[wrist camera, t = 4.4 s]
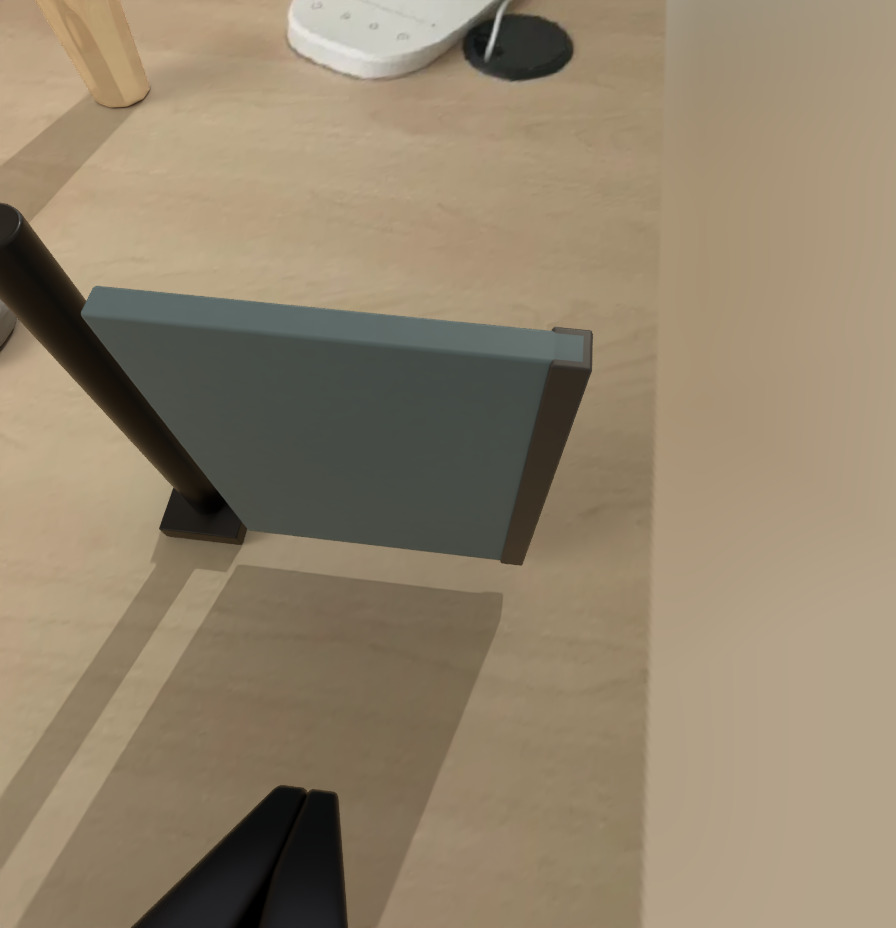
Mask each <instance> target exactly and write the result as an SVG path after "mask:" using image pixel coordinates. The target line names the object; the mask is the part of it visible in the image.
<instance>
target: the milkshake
mask: <svg viewBox="0 0 896 928" xmlns="http://www.w3.org/2000/svg"><path fill="white" fill-rule="evenodd" d="M35 2H36V4H37V5H38V7H39V8H40V10H41V12H42V13H43V15H44V16H45V18H46V20H47V21H48V23H49V25H50V26H51V28H52V30H53V31H54V33H55V35H56V36H57V38H58V40H59V41H60V43H61V45H62V46H63V48H64V50H65V51H66V53H67V55H68V56H69V58H70V60H71V61H72V63H73V65H74V66H75V68H76V70H77V71H78V73H79V75H80V76H81V78H82V80H83V81H84V83H85V85H86V86H87V88H88V90H89V91H90V93H91V95H92V96H93V98H94V100H95V101H96V102H97V103H100V104H102V105H105V106H107V107H110V108H112V107H126V106H130V105H132V104H134V103H136V102H138V101H140V100H142V99H143V98H144V97H145V95H146V94H147V92H148V91H149V89H150V85H149V82H148V79H147V76H146V73H145V70H144V68H143V65H142V62H141V59H140V56H139V53H138V50H137V47H136V45H135V42H134V39H133V36H132V33H131V30H130V27H129V25H128V22H127V19H126V16H125V13H124V10H123V7H122V4H121V1H120V0H35Z"/></svg>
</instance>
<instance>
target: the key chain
mask: <svg viewBox="0 0 896 928" xmlns="http://www.w3.org/2000/svg"><path fill="white" fill-rule="evenodd" d="M16 318H17V317H16V316H15V315H14V314H13V313H12V312H11V310H10V309H9V308H8V307H7V306H6V305H5V304H4V303H3V302H2V301H1V300H0V346H1V345H2V344H3V343H4V342H5V340H6V339H7V337H8V336H9V334H10V333H11V331H12V330H13V328H14V327H15V323H16Z"/></svg>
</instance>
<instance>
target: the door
mask: <svg viewBox="0 0 896 928" xmlns="http://www.w3.org/2000/svg"><path fill="white" fill-rule="evenodd" d="M81 316H82V318H83V319H84V320H85V321H86V323H87V324H88V325H89V327H90V328H91V329H92V330H93V332H94V333H95V334H96V335H97V337H98V338H99V339H100V341H101V342H102V343H103V344H104V346H105V347H106V348H107V350H108V351H109V352H110V353H111V355H112V356H113V357H114V359H115V360H116V361H117V362H118V364H119V365H120V366H121V367H122V369H123V370H124V371H125V373H126V374H127V375H128V376H129V378H130V379H131V380H132V382H133V383H134V384H135V385H136V387H137V388H138V389H139V391H140V392H141V393H142V394H143V396H144V397H145V398H146V399H147V401H148V402H149V403H150V405H151V406H152V407H153V408H154V410H155V411H156V412H157V414H158V415H159V416H160V417H161V419H162V420H163V421H164V423H165V424H166V425H167V426H168V428H169V429H170V430H171V432H172V433H173V434H174V435H175V437H176V438H177V439H178V440H179V442H180V443H181V444H182V446H183V447H184V448H185V449H186V451H187V452H188V453H189V455H190V456H191V457H192V458H193V460H194V461H195V462H196V464H197V465H198V466H199V467H200V469H201V470H202V471H203V472H204V474H205V475H206V476H207V478H208V479H209V480H210V481H211V483H212V484H213V485H214V487H215V488H216V489H217V490H218V492H219V493H220V494H221V496H222V497H223V498H224V499H225V501H226V502H227V503H228V504H229V506H230V507H231V508H232V510H233V511H234V512H235V513H236V515H237V516H238V517H239V519H240V520H241V521H242V522H243V524H244V525H245V526H246V528H247V529H248V530H250V531H258V532H266V533H275V534H283V535H292V536H300V537H309V538H317V539H326V540H334V541H342V542H351V543H359V544H368V545H376V546H385V547H393V548H402V549H410V550H419V551H427V552H435V553H444V554H452V555H461V556H469V557H478V558H486V559H495V560H500V561H501V563H504V564H513V565H522V564H523V561H524V559H525V556H526V553H527V550H528V547H529V545H530V542H531V539H532V536H533V534H534V531H535V528H536V525H537V522H538V520H539V517H540V514H541V511H542V508H543V506H544V503H545V500H546V497H547V494H548V492H549V489H550V486H551V483H552V480H553V478H554V475H555V472H556V469H557V467H558V464H559V461H560V458H561V455H562V453H563V450H564V447H565V444H566V441H567V439H568V436H569V433H570V430H571V427H572V425H573V422H574V419H575V416H576V413H577V411H578V408H579V405H580V402H581V399H582V397H583V394H584V391H585V388H586V386H587V383H588V380H589V377H590V374H591V372H592V345H593V334H592V331H590V330H581V329H571V328H561V327H554V328H553V329H552V331H546V330H536V329H526V328H516V327H506V326H496V325H486V324H476V323H466V322H455V321H445V320H435V319H425V318H415V317H405V316H395V315H385V314H375V313H365V312H355V311H345V310H335V309H325V308H315V307H305V306H294V305H284V304H274V303H264V302H254V301H244V300H234V299H224V298H214V297H204V296H194V295H184V294H174V293H164V292H154V291H144V290H133V289H123V288H113V287H103V286H95V287H94V288H93V289H92V291H91V293H90V295H89V297H88V299H87V301H86V303H85V305H84V307H83V309H82V311H81Z"/></svg>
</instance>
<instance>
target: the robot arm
mask: <svg viewBox="0 0 896 928" xmlns="http://www.w3.org/2000/svg"><path fill="white" fill-rule="evenodd" d="M131 928H348V921H347V907H346V894H345V880H344V867H343V853H342V840H341V826H340V813H339V800H338V795H337V793H335V792H331V791H324V790H316V789H312V790H310V791H309V792H307V790H306V789H304V788H301V787H294V786H286V785H280V786H277V787H276V788H274V789H273V790H272V791H271V792H270V793H269V794H268V795H267V796H266V797H265V798H264V799H263V800H262V801H261V802H260V803H259V804H258V805H257V806H256V807H255V808H254V809H253V810H252V811H251V812H250V813H249V814H248V815H246V816H245V817H244V818H243V819H242V820H241V821H240V822H239V823H238V824H237V825H236V826H235V827H234V828H233V829H232V830H231V831H230V832H229V833H228V834H227V835H226V836H225V837H224V838H223V839H222V840H221V841H220V842H219V843H218V844H217V845H216V846H215V847H214V848H212V849H211V850H210V851H209V852H208V853H207V854H206V855H205V856H204V857H203V858H202V859H201V860H200V861H199V862H198V863H197V864H196V865H195V866H194V867H193V868H192V869H191V870H190V871H189V872H188V873H187V874H186V875H185V876H184V877H183V878H182V879H181V880H179V881H178V882H177V883H176V884H175V885H174V886H173V887H172V888H171V889H170V890H169V891H168V892H167V893H166V894H165V895H164V896H163V897H162V898H161V899H160V900H159V901H158V902H157V903H156V904H155V905H154V906H153V907H152V908H151V909H150V910H149V911H148V912H147V913H145V914H144V915H143V916H142V917H141V918H140V919H139V920H138V921H137V922H136V923H135V924H134V925H133V926H132V927H131Z"/></svg>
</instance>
